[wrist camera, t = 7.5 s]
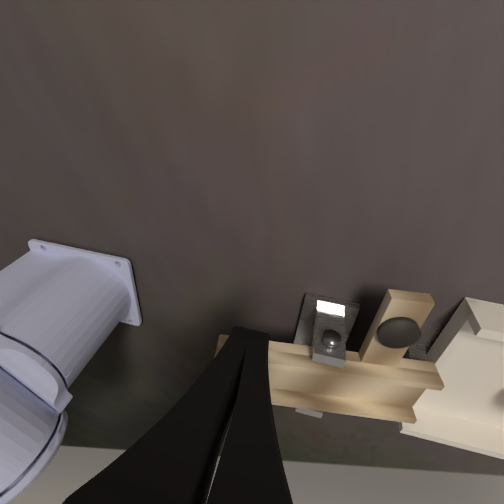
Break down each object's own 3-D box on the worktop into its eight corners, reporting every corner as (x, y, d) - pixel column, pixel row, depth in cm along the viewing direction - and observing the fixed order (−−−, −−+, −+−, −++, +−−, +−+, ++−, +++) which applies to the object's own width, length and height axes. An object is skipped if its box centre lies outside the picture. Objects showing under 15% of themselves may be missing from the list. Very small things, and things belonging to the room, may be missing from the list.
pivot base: (289, 358, 28) (281, 411, 24) (306, 291, 23) (300, 344, 19) (390, 383, 27) (400, 443, 23) (431, 318, 22) (452, 379, 18)
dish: (394, 401, 28) (399, 432, 26) (465, 297, 20) (481, 328, 18) (516, 431, 27) (532, 466, 25) (640, 332, 19) (682, 370, 17)
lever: (218, 374, 24) (211, 409, 22) (221, 268, 18) (212, 301, 16) (406, 400, 24) (419, 438, 22) (478, 300, 18) (507, 339, 15)
